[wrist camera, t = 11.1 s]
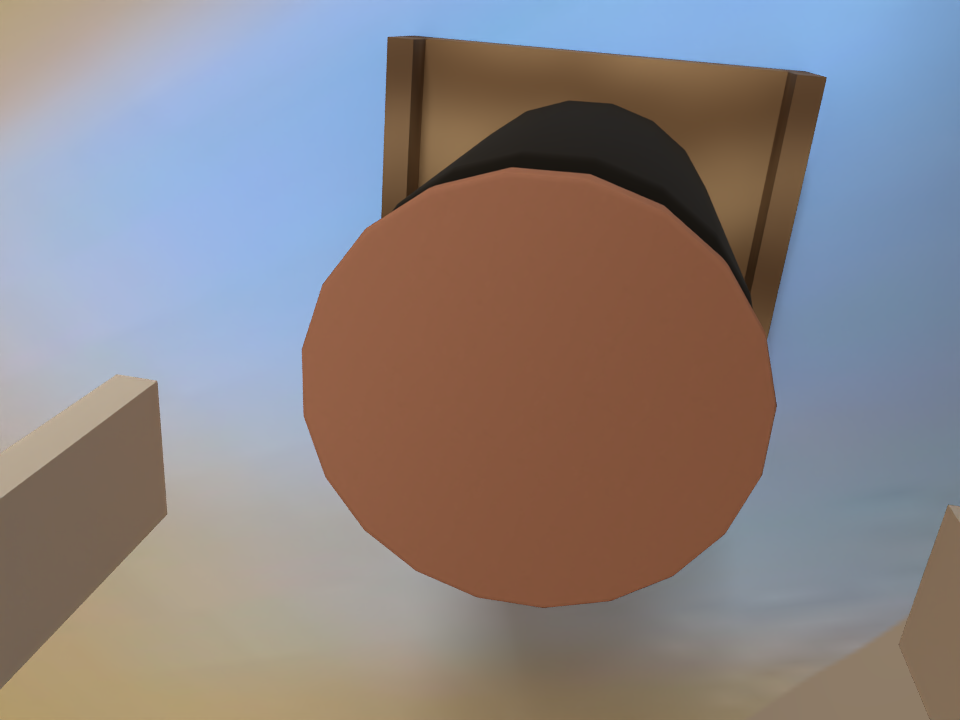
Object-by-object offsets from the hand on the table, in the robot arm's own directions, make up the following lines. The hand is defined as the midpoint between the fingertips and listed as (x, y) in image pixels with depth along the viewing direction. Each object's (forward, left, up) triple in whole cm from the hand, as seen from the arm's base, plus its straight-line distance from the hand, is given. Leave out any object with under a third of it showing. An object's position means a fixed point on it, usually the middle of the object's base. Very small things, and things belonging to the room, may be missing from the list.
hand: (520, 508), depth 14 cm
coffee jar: (+1, 0, -23) cm, 23 cm away
